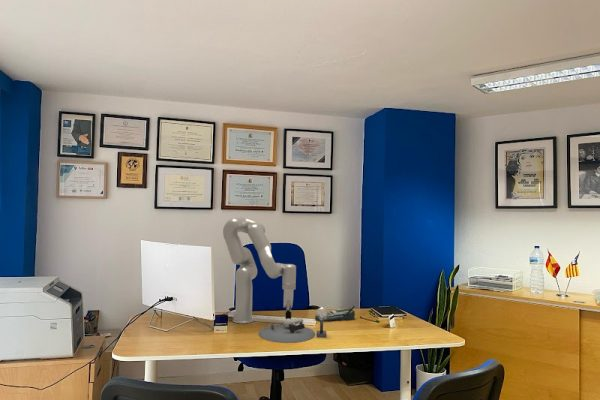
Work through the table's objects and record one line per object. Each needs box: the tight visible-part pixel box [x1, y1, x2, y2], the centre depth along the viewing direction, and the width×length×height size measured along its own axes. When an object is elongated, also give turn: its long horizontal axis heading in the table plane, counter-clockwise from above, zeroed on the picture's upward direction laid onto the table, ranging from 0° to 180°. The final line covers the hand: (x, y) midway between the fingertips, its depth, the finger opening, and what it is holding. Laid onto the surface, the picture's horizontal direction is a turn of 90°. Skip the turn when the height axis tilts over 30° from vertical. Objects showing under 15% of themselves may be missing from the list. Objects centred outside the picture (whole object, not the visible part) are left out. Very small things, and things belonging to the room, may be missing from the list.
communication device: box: [314, 305, 356, 323], centre depth 243 cm, size 12×24×9 cm, turn 108°
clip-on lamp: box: [270, 317, 306, 333], centre depth 217 cm, size 12×6×18 cm
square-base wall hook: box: [315, 307, 329, 339], centre depth 209 cm, size 6×5×15 cm
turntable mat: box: [257, 324, 316, 344], centre depth 212 cm, size 30×30×1 cm
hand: (288, 318), depth 228 cm, fingers closed
